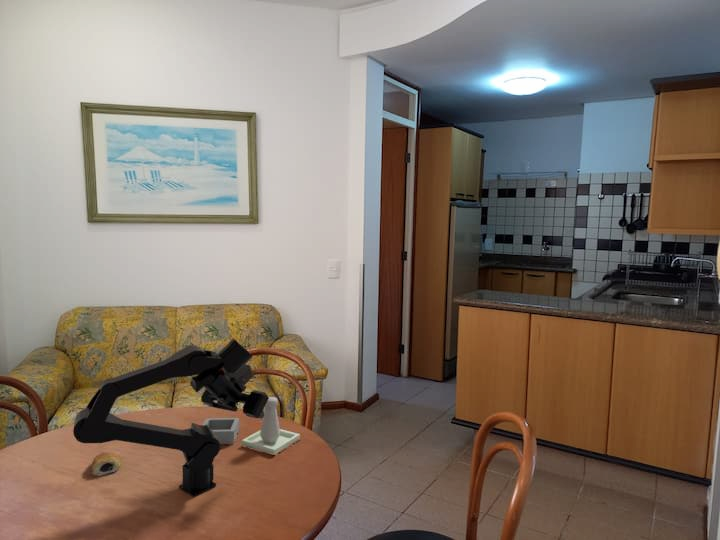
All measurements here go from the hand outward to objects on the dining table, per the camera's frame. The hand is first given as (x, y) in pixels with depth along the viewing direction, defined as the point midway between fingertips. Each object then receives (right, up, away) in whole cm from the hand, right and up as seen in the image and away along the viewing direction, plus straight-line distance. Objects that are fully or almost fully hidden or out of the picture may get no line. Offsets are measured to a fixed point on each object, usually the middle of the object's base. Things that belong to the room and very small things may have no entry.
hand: (249, 413), depth 130 cm
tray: (+4, -13, +13) cm, 18 cm away
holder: (-13, -12, +16) cm, 24 cm away
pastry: (-37, -14, -4) cm, 39 cm away
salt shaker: (+3, -12, +12) cm, 18 cm away
